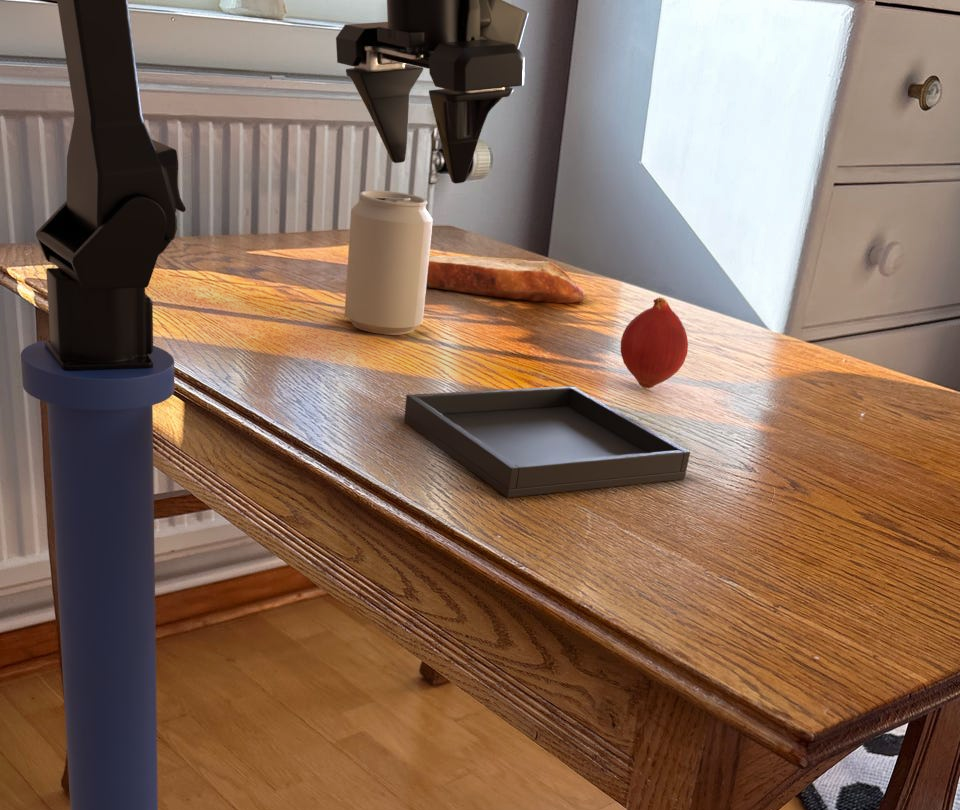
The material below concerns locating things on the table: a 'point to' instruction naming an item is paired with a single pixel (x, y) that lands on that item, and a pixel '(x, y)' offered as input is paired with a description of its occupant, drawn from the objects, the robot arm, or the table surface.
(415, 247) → the can
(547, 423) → the tray
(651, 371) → the onion
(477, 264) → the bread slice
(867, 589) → the table surface
